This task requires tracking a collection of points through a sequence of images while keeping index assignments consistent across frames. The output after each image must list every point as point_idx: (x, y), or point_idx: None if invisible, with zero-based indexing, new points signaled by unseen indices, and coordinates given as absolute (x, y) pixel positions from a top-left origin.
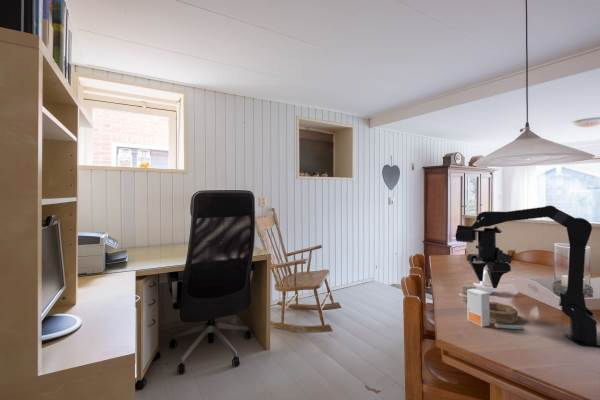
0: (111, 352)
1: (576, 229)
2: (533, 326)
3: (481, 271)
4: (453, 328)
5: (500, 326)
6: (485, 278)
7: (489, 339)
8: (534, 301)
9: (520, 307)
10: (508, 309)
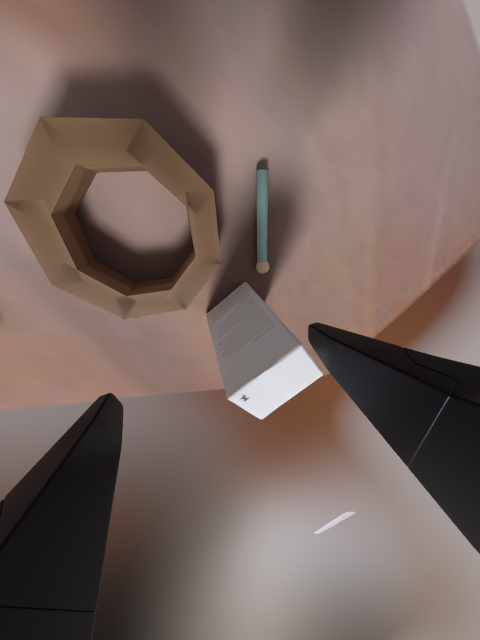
0: (344, 515)
1: None
2: (212, 84)
3: (54, 520)
4: None
5: (266, 256)
6: None
7: (331, 301)
8: None
9: None
10: (115, 164)
